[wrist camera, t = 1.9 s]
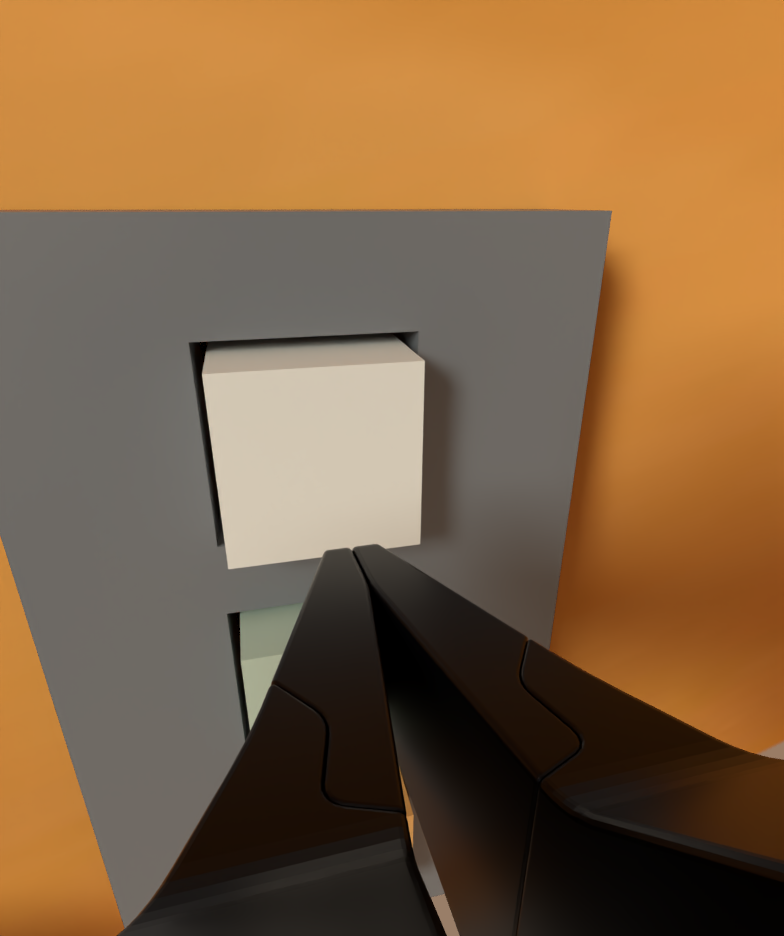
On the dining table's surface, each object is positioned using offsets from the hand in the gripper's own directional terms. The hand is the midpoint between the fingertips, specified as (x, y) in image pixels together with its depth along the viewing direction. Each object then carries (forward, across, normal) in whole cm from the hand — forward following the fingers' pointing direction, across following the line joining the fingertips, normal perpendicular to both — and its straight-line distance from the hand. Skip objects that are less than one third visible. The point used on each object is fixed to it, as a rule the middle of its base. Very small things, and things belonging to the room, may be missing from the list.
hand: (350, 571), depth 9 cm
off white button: (+7, 0, 0) cm, 7 cm away
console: (+8, 0, +7) cm, 11 cm away
